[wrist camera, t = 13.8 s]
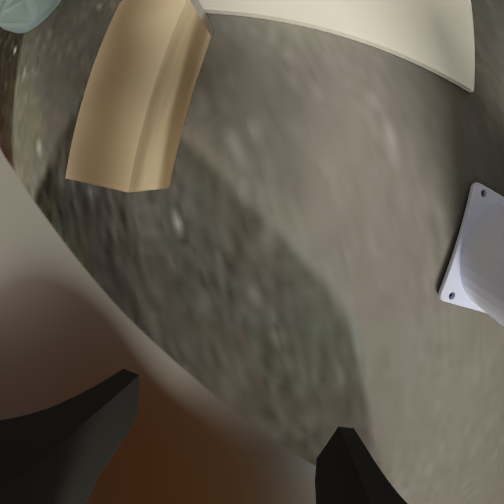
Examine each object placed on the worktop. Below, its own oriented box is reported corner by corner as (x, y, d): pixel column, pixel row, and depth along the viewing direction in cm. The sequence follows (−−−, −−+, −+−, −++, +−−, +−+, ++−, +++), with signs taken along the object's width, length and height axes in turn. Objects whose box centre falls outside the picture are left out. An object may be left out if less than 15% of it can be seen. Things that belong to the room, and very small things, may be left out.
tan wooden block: (214, 30, 14) (192, -12, 9) (169, 188, 17) (128, 192, 12) (158, 27, 14) (124, -7, 10) (114, 176, 17) (65, 178, 12)
